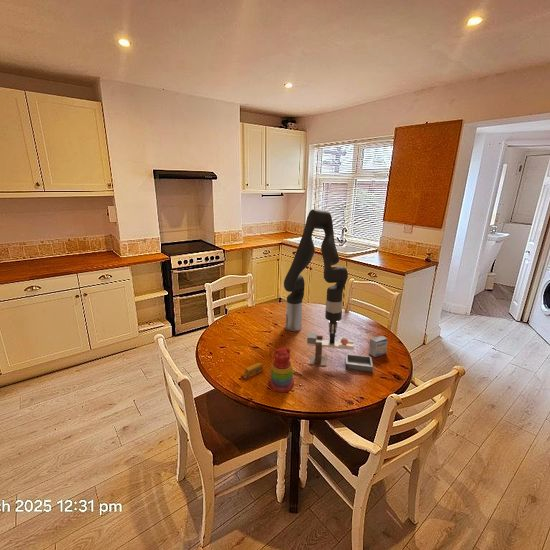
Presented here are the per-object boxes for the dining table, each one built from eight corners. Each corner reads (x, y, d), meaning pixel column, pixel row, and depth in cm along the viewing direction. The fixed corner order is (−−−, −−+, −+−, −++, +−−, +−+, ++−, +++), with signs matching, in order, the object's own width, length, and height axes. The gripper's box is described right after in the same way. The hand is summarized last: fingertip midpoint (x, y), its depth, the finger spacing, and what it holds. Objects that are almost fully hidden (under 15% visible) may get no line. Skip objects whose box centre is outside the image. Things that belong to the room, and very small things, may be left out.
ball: (340, 345, 140) (341, 339, 139) (340, 342, 143) (341, 336, 142) (347, 346, 139) (348, 340, 138) (347, 343, 142) (348, 337, 141)
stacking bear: (293, 377, 133) (293, 342, 128) (295, 392, 124) (296, 354, 119) (269, 378, 133) (268, 342, 128) (269, 393, 123) (269, 355, 118)
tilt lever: (307, 345, 142) (307, 337, 141) (308, 339, 147) (308, 332, 146) (353, 350, 138) (354, 342, 136) (353, 344, 143) (353, 336, 142)
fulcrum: (309, 364, 143) (310, 342, 140) (310, 355, 151) (311, 334, 147) (326, 366, 141) (327, 343, 138) (327, 357, 149) (328, 335, 146)
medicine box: (374, 357, 149) (376, 342, 146) (368, 353, 153) (369, 338, 150) (386, 353, 152) (388, 338, 150) (379, 349, 156) (381, 334, 154)
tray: (345, 369, 139) (346, 363, 138) (345, 359, 148) (345, 353, 147) (372, 372, 137) (373, 366, 136) (370, 361, 145) (371, 356, 144)
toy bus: (241, 376, 135) (241, 369, 134) (258, 368, 140) (258, 361, 139) (245, 380, 132) (245, 372, 131) (263, 371, 138) (262, 364, 137)
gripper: (326, 303, 144) (324, 335, 149) (324, 314, 132) (323, 349, 136) (342, 304, 142) (340, 337, 147) (342, 315, 130) (340, 350, 135)
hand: (332, 342), depth 142 cm, fingers closed
